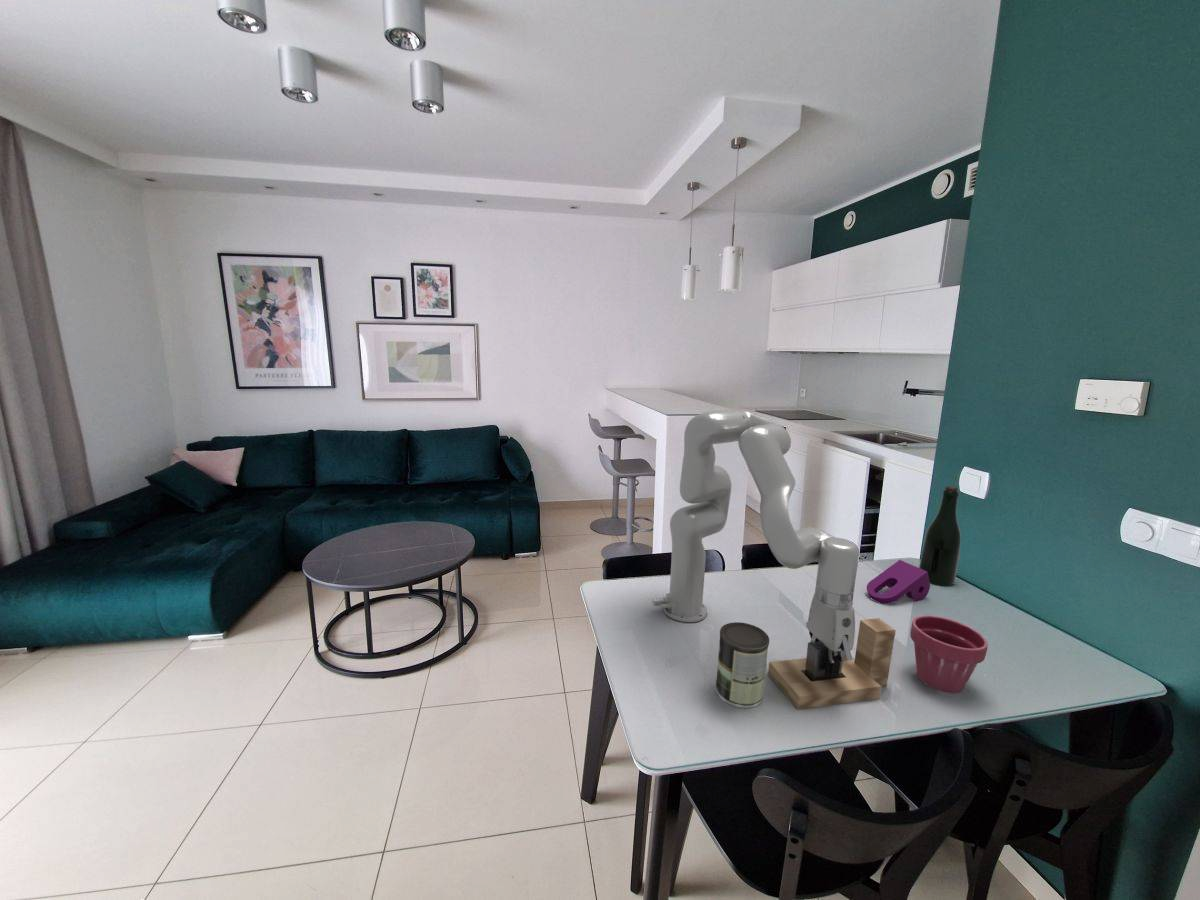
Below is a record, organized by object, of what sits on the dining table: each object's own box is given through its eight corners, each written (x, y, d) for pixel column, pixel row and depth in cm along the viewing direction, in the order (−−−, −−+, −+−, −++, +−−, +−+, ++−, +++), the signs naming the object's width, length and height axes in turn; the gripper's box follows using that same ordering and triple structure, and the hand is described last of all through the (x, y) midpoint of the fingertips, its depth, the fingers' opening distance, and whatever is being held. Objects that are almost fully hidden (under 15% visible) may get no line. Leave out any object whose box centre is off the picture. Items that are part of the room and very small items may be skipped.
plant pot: (983, 682, 115) (993, 632, 112) (970, 711, 105) (981, 657, 103) (913, 654, 125) (921, 608, 122) (896, 678, 115) (904, 628, 113)
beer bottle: (953, 578, 170) (970, 486, 164) (955, 589, 161) (973, 493, 155) (917, 570, 176) (932, 481, 169) (917, 581, 167) (933, 487, 161)
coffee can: (706, 693, 108) (711, 635, 105) (727, 671, 116) (732, 616, 113) (752, 716, 102) (758, 655, 99) (770, 691, 110) (776, 633, 107)
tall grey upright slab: (812, 691, 110) (816, 649, 108) (804, 682, 113) (807, 642, 111) (839, 687, 111) (844, 646, 110) (830, 679, 114) (835, 639, 113)
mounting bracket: (891, 623, 151) (931, 592, 155) (885, 602, 148) (927, 571, 152) (864, 608, 159) (904, 579, 164) (859, 588, 157) (899, 559, 161)
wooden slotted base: (798, 709, 104) (805, 649, 101) (767, 673, 116) (773, 619, 113) (898, 695, 109) (908, 638, 107) (860, 662, 121) (868, 610, 118)
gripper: (877, 613, 100) (865, 692, 104) (824, 576, 116) (815, 646, 120) (844, 616, 99) (833, 696, 102) (795, 578, 115) (787, 649, 118)
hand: (824, 668), depth 111 cm, fingers open, 4 cm apart
